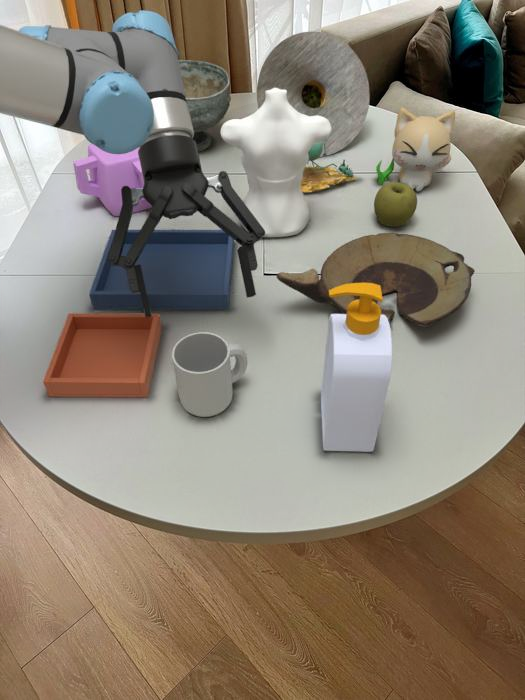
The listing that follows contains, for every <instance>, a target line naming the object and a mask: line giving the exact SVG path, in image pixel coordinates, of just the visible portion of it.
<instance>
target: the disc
mask: <svg viewBox="0 0 525 700" xmlns="http://www.w3.org/2000/svg"><path fill="white" fill-rule="evenodd" d="M366 71H367V70H366V68H365V66H364V65H363V62H362V61H361V58H359V56H358V54H357V53H356V52H355V50H353V48H351V47H350V46H349V45H348V44H347V43H345V42H344V41H343V40H342V39H340V38H338V37H337V36H335V35H332V34H330V33H326V32H321V31H302V32H298V33H295V34H293V35H290V36H288V37H287V38H285V39H283V40H281V41H280V42H279V43H278V44H277V45H276V46H274V47H273V49H272V50H271V51H270V52H269V54H268V55H267V57H266V58H265V60H264V62H263V64H262V66H261V69H260V71H259V75H258V78H257V84H256V102H257V107H258V109H259V108H260V107H261V106H262V105H263V103H264V102H265V98H266V95H265V91H267V90H271V89H273V88H278V89H282V90H287V101H288V103H289V104H290V105H291V106H292V107H293V108H294V109H295V110H296V111H298V112H299V113H301V114H304V115H307V116H316V115H317V116H322V117H325V118H326V119H328V120H329V122H330V124H331V133H330V135H329V136H328V137H327V138H325V139H324V140H322V143H325V150H324V144H322V146H323V149H322V153H321V155H320V157H324V156H323V154H324V153H325V151H326V154H327V155H326V156H325V157H327V156H330V155H333V154H335V153H338V152H340V151H341V150H343V149H344V148H345V147H347V146H348V145H350V143H351V142H352V141H354V140H355V138H356V137H357V136H358V134H359V133H360V131H361V130H362V128H363V126H364V123H365V120H366V119H367V115H368V112H369V108H370V97H371V96H370V85H369V79H368V74H367V72H366ZM320 157H319V158H320Z"/></svg>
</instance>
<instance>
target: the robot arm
mask: <svg viewBox="0 0 525 700" xmlns="http://www.w3.org/2000/svg"><path fill="white" fill-rule="evenodd" d="M179 60H180V57H179V52H178V49H177V46H176V42H175V38H174V35H173V32H172V30H171V26H170V24H169V22H168V20H167V19H166V18H164V16H162V15H161V14H159V13H157V12H154V11H151V10H139V11H137V12H126V13H125V14H122V15H121V16H120V17H118V18H117V19H116V20H115V21H114V23H113V25H112V30H111V31H98V30H89V29H88V30H87V29H78V28H67V27H56V26H52V25H50V24H46V25H45V26H43V25H40V26H39V25H32V26H31V25H24V26H22V27H20V28H19V30H16V29H14V28H11V27H8V26H5V25H2V24H0V114H1V115H5V116H10V117H14V118H17V119H21V120H25V121H28V122H33V123H36V124H40V125H45V126H49V127H53V128H56V129H59V130H63V131H67V132H71V133H75V134H79V135H82V136H84V138H85V140H86V141H88V142H89V144H94V145H95V146H97V147H98V148H100V149H101V150H103V151H105V152H107V153H111V154H125V153H129V152H131V151H134V150H136V149H137V148H140V149H139V150H138V155H139V160H140V165H141V169H142V174H143V179H144V186H143V188H130V187H128V186H123V187H122V189H121V194H122V208H121V212H120V215H119V216H118V219H117V224H116V227H115V229H114V230H115V234H114V238H113V241H112V245H111V249H110V252H109V256H108V260H109V262H110V264H111V265H112V266H119V267H123V268H124V269H125V270H126V274H127V278H128V283H129V287H130V290H131V292H132V293H136V292H140V294H141V298H142V303H143V308H144V309H143V312H144V314H145V317H146V318H148V317H152V316H151V314H152V310H151V309H150V306H149V302H148V297H147V293H146V288H145V283H144V279H143V274H142V270H141V265H135V263H136V261H137V260H138V258H139V256H140V254H141V253H142V251H143V249H144V247H145V245H146V244H147V242H148V240H149V238H150V236H151V235H152V233H153V231H154V230H156V227H157V226H158V225H159V223H160V221H161V220H162V218H163V217H164V218H167V219H169V220H172V219H176V218H177V219H178V218H179V217H190V216H194V214H196V213H197V212H198V213H199V214H201V216H203V217H205V218H207V219H208V220H209V221H211V222H212V223H213V224H214V225H216V226H217V227H218V228H219V229H220V230H223V231H224V232H225V233H227V234H228V235H229V236H230V237H232V238H233V239H234V242H236V243H238V245H240V246H239V247H238V248H237V249H236V253H237V257H238V260H239V267H240V271H241V276H242V281H243V285H244V290H245V294H246V295H245V296H246V298H253V297H255V296H257V293H256V288H255V283H254V279H253V278H254V277H253V273H252V271H256V270H257V269H258V259H257V255H256V250H255V244H256V243H257V242H259V241H261V240H262V239H263V238H264V237H263V236H264V235H265V230H264V229H263V227H262V226H261V225H260V223H259V222H258V221H257V219H256V218H255V217H254V216H253V214H252V213H251V212H250V210H249V209H248V208H247V206H246V205H245V204H244V201H243V200H242V198H241V197H240V195H238V193H237V192H236V190H235V189H234V188H233V185H232V184H231V180H230V176H229V174H228V172H226V171H225V170H221V171H219V173H218V174H217V175H216V174H215V175H213V176H209V177H206V176H205V174H204V173H203V169H202V165H201V161H200V156H199V155H200V154H199V151H198V150H197V146H196V142H195V141H194V140H193V139H192V138H193V137H194V131H193V127H192V122H191V118H190V113H189V109H188V104H187V100H186V95H185V90H184V85H183V80H182V75H181V71H180V65H179ZM209 188H211V189H213V191H214V192H215V193H217V194H220V195H221V197H222V199H223V200H224V202H225V203H226V204H227V206H228V207H229V208H230V210H231V211H232V212H233V213H234V215H235V216H236V218H237V219H238V220H239V222H240V221H241V222H242V224H243V225H244V226H245V228H246V229H247V230H248V231H247V230H246V229H245V228H244V229H243V228H242V227H241V226H239V224H238V223H236V222H235V221H233V219H231V218H230V217H229V216H228V215H226V214H225V213H224V212H223V211H221V210H220V209H219V208H218V207H216V206H215V205H214V203H213V201H211V200H210V199H209V198H207V197H206V194H207V192H208V189H209ZM141 198H144V199H145V200H146V201H147V202H148V203H150V204H151V205H152V206H153V207H152V208H150V209H151V210H150V211H149V213H148V215H147V218H146V219H145V221H144V223H143V225H142V227H141V228H140V229H139V230H140V232H139V234H138V235H137V237H136V239H135V241H134V242H133V244H132V246H131V248H130V250H129V251H128V253H127V255H126V256H121V254H122V250H123V246H124V243H125V239H126V235H127V232H128V230H129V228H130V224H131V220H132V216H133V213H132V212H133V207H134V206H137V205H138V203H139V200H140V199H141ZM241 222H240V223H241ZM242 224H241V225H242Z"/></svg>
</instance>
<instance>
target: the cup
mask: <svg viewBox="0 0 525 700" xmlns="http://www.w3.org/2000/svg"><path fill="white" fill-rule="evenodd" d="M231 357H234V358H235V362H234V366H233V368H232V361H231ZM171 359H172V364H173V370H174V375H175V382H176V385H177V386H176V387H177V392H178V398H179V401H180V404H181V406H182V408H183V409H184V410H185V411H186V412H187V413H189V414H191V415H193V416H196V417H199V418H200V417H202V418H208V417H213V416H217V415H219V414H221V413H222V412H223V411H225V410H226V409H227V408H228V407H229V406H230V404H231V402H232V400H233V395H234V393H233V384H234V383H235V382H237V381H238V380H240V379H241V378H242V377H243V375H245V372H246V370H247V367H248V355H247V351H246V349H245V348H244V347H243V346H242V345H240V344H238V343H229V344H228V342H227V340H225V338H223V337H222V336H220V335H219V334H216V333H212V332H207V331H199V332H193V333H190V334H187V335H186V336H184V337H182V338H181V339H179V340H178V341H176V343H175V345H174V346H173V349H172V351H171Z"/></svg>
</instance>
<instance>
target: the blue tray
mask: <svg viewBox="0 0 525 700" xmlns="http://www.w3.org/2000/svg"><path fill="white" fill-rule="evenodd" d="M115 230H116V229H111V231H110V234H109V238H108V240H107V243H106V245H105V249H104V251H103V254H102V257H101V260H100V263H99V265H98V268H97V270H96V274H95V276H94V280H93V282H92V285H91V288H90V290H89V293H88V295H89V297H90V299H89V300H90V301H91V305H92V309H93V310H94V309H95V310H144V308H143V303H142V298H141V294H140V292H136V293H132V292H131V290H130V287H129V283H128V278H127V274H126V270H125V269H124V268H123V267H119V266H112V265H111V264H110V262H109V260H108V256H109V252H110V249H111V245H112V241H113V238H114V234H115ZM140 230H141V229H128V232H127V235H126V239H125V243H124V246H123V250H122V254H121V256H126V255H127V253H128V251H129V250H130V248H131V246H132V244H133V242H134V241H135V239H136V237H137V235H138V234H139V232H140ZM235 245H236V244H235V240H234V239H233V238H232V237H230V236H229V235H228V234H227V233H225V232H224V231H223V230H222V229H154V231H153V233H152V235H151V236H150V238H149V240H148V242H147V244H146V245H145V247H144V249H143V251H142V253H141V254H140V256H139V258H138V260H137V261H136V263H135V265H141V270H142V274H143V279H144V283H145V288H146V293H147V297H148V302H149V306H150V310H230V300H231V290H232V278H233V268H234V267H233V266H234V257H235V254H234V253H235Z"/></svg>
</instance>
